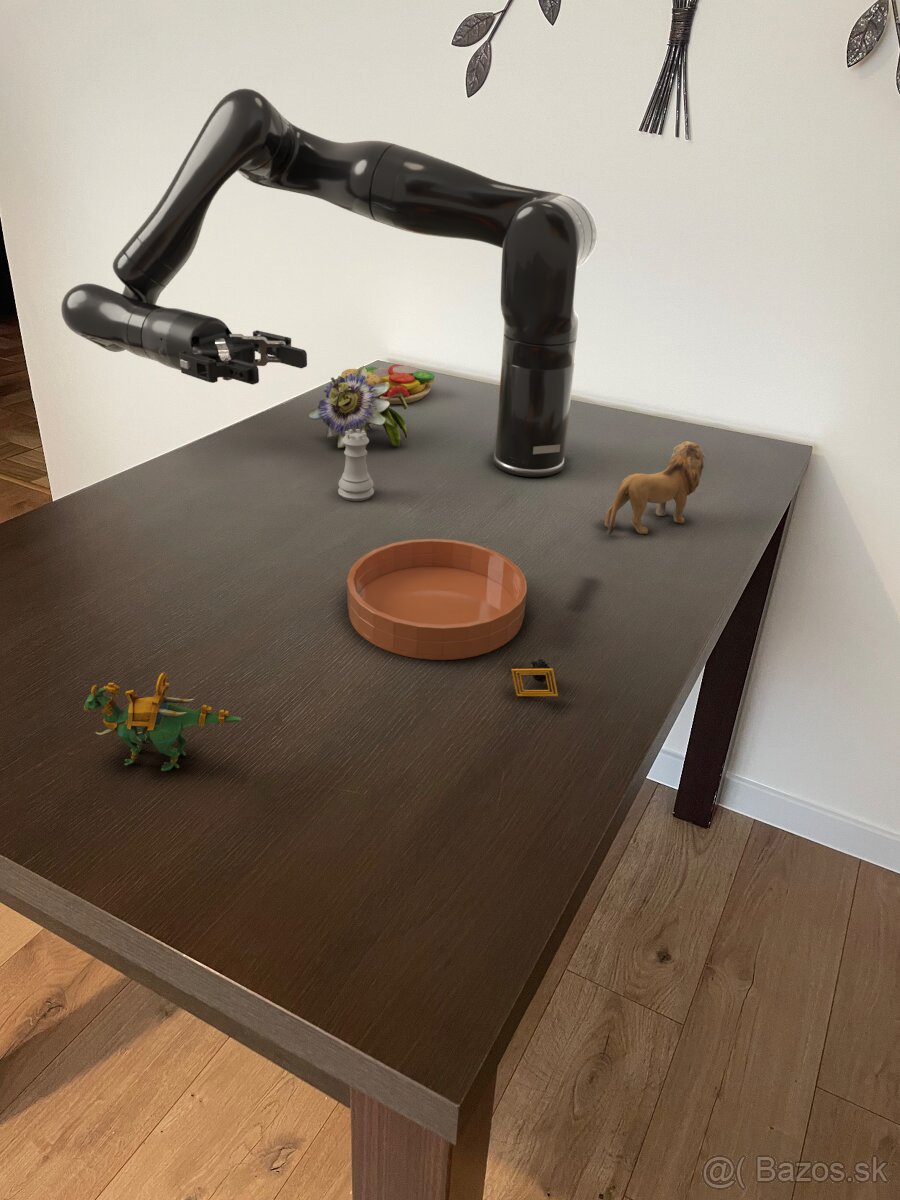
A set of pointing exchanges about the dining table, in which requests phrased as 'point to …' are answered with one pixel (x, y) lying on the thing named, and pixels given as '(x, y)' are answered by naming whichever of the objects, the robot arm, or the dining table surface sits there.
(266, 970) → the dining table surface
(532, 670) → the golden picture frame
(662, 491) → the lion figurine
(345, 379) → the passion flower
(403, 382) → the toy food set
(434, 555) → the pan
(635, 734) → the dining table surface
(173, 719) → the figurine
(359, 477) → the rook chess piece
